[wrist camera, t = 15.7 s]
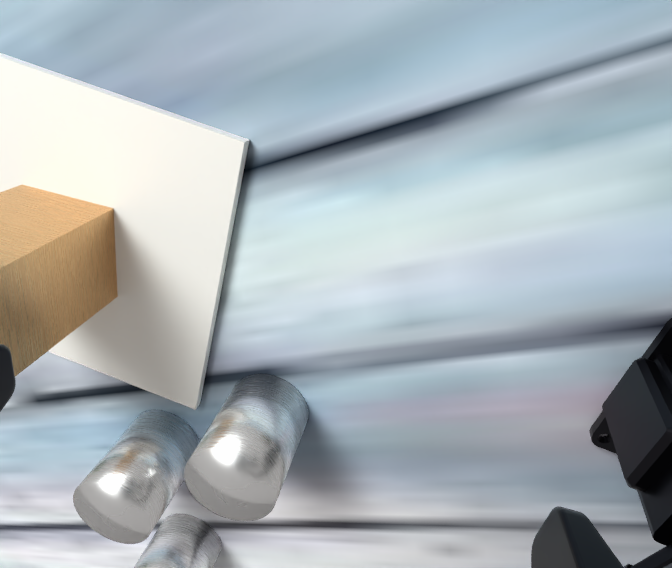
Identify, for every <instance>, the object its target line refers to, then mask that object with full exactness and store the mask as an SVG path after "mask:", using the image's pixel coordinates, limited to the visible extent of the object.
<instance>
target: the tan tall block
mask: <svg viewBox="0 0 672 568" xmlns="http://www.w3.org/2000/svg"><path fill="white" fill-rule="evenodd" d="M116 297H118V294H117V272H116V250H115V228H114V208H111V207H107V206H103V205H99V204H95V203H91V202H88V201H84V200H80V199H76V198H72V197H68V196H65V195H61V194H57V193H53V192H49V191H45V190H42V189H38V188H34V187H30V186H26V185H19V186H16V187H14V188H11V189H8V190H5V191H3V192H0V344H3V345H5V346H7V347H8V348H9V349H10V352H11V356H12V363H13V369H14V375H15V376H16V375H18V374H19V373H20V372H22V371H23V370H24V369H25V368H27V367H28V366H29V365H31V364H32V363H33V362H34V361H36V360H37V359H38V358H40V357H41V356H42V355H43V354H45V353H46V352H47V351H49V350H50V349H51V348H52V347H54V346H55V345H56V344H57V343H59V342H60V341H61V340H63V339H64V338H65V337H66V336H68V335H69V334H70V333H72V332H73V331H74V330H75V329H77V328H78V327H79V326H81V325H82V324H83V323H84V322H86V321H87V320H88V319H90V318H91V317H92V316H93V315H95V314H96V313H97V312H99V311H100V310H101V309H102V308H104V307H105V306H106V305H108V304H109V303H110V302H111V301H113V300H114V299H115V298H116Z"/></svg>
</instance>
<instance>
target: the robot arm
mask: <svg viewBox="0 0 672 568" xmlns="http://www.w3.org/2000/svg"><path fill="white" fill-rule="evenodd" d="M14 389H15V375H14V369H13V363H12V356H11V352H10V349H9V348H8V347H7V346H5V345H3V344H0V411H1V410H2V409H3V407H4V406H5V405H6V403H7V402H8V401H9V399H10V398H11V396H12V394H13V392H14ZM602 408H603V411H602V413H601V414H600V416H599V417H598V418H597V420H596V421H595V423H594V424H593V425H592V427H591V429H590V436H591V440H592V442H593V443H594V444H595V445H596V446H598V447H600V448H603V449H606V450H608V451H611V452H614V453H616V454H617V455H618V459H619V462H620V465H621V468H622V471H623V475H624V478H625V480H626V482H627V485H628V486H629V487H630V488H633V489H635V490H637V491H638V494H639V497H640V500H641V503H642V506H643V509H644V512H645V515H646V518H647V521H648V524H649V527H650V530H651V533H652V536H653V538H654V540H655V541H657V542H658V543H661V544H663V545H666V547H664V548H663V549H661V550H659V551H657V552H656V553H654V554H652V555H651V556H649V557H647V558H645V559H644V560H642V561H640V562H639V563H637V564H635V565H630V564H628V565H626V566H624V567H623V566H622V565H621V563H620V562H619V560H618V559H617V558H616V556H615V555H614V554H613V552H612V551H611V549H610V548H609V547H608V545H607V544H606V542H605V541H604V540H603V538H602V537H601V536H600V534H599V533H598V531H597V530H596V529H595V527H594V526H593V524H592V523H591V522H590V520H589V519H588V518H587V517H586V516H585V515H584V514H582V513H580V512H577V511H574V510H570V509H567V508H564V507H555V508H554V509H553V510H552V511H551V512H550V514H549V516H548V517H547V519H546V520H545V522H544V524H543V525H542V527H541V528H540V530H539V532H538V533H537V535H536V537H535V539H534V541H533V545H532V554H531V568H672V318H671V319H670V320H669V321H668V322H667V323H666V324H665V326H664V327H663V329H662V330H661V331H660V333H659V334H658V335H657V337H656V338H655V340H654V341H653V342H652V344H651V345H650V346H649V348H648V349H647V351H646V352H645V353H644V355H643V356H642V358H639V359H637V360H635V361H634V362H633V363H632V365H631V366H630V367H629V369H628V370H627V372H626V373H625V374H624V376H623V377H622V379H621V380H620V381H619V383H618V384H617V386H616V387H615V388H614V390H613V391H612V393H611V394H610V395H609V397H608V398H607V400H606V401H605V402H604V404H603V406H602ZM601 434H608V435H607V436H604V437H602V436H599V435H601Z"/></svg>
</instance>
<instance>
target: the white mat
mask: <svg viewBox="0 0 672 568" xmlns="http://www.w3.org/2000/svg"><path fill="white" fill-rule="evenodd" d="M248 145H249V139H246V138H243V137H241V136H238V135H235V134H232V133H229V132H226V131H223V130H220V129H218V128H215V127H212V126H209V125H206V124H203V123H200V122H197V121H195V120H192V119H189V118H186V117H183V116H180V115H177V114H174V113H172V112H169V111H166V110H163V109H160V108H157V107H154V106H152V105H149V104H146V103H143V102H140V101H137V100H134V99H131V98H129V97H126V96H123V95H120V94H117V93H114V92H111V91H108V90H106V89H103V88H100V87H97V86H94V85H91V84H88V83H86V82H83V81H80V80H77V79H74V78H71V77H68V76H65V75H63V74H60V73H57V72H54V71H51V70H48V69H45V68H42V67H40V66H37V65H34V64H31V63H28V62H25V61H22V60H20V59H17V58H14V57H11V56H8V55H5V54H2V53H0V192H3V191H5V190H8V189H11V188H14V187H16V186H19V185H26V186H30V187H34V188H38V189H42V190H45V191H49V192H53V193H57V194H61V195H65V196H68V197H72V198H76V199H80V200H84V201H88V202H91V203H95V204H99V205H103V206H107V207H111V208H114V228H115V250H116V272H117V294H118V297H116V298H115V299H114V300H113V301H111V302H110V303H109V304H108V305H106V306H105V307H104V308H102V309H101V310H100V311H99V312H97V313H96V314H95V315H93V316H92V317H91V318H90V319H88V320H87V321H86V322H84V323H83V324H82V325H81V326H79V327H78V328H77V329H75V330H74V331H73V332H72V333H70V334H69V335H68V336H66V337H65V338H64V339H63V340H61V341H60V342H59V343H57V344H56V345H55V346H54V347H52V348H51V349H50V350H49V351H48V352H50V353H53V354H55V355H58V356H61V357H63V358H66V359H68V360H71V361H73V362H76V363H78V364H81V365H83V366H86V367H88V368H91V369H93V370H96V371H98V372H101V373H103V374H106V375H109V376H111V377H114V378H116V379H119V380H121V381H124V382H126V383H129V384H131V385H134V386H136V387H139V388H141V389H144V390H146V391H149V392H151V393H154V394H157V395H159V396H162V397H164V398H167V399H169V400H172V401H174V402H177V403H179V404H182V405H184V406H187V407H189V408H192V409H194V410H196V409H197V407H198V406H199V404H200V401H201V396H202V391H203V385H204V380H205V375H206V369H207V364H208V359H209V353H210V348H211V343H212V337H213V332H214V327H215V321H216V316H217V311H218V305H219V300H220V295H221V289H222V284H223V279H224V273H225V268H226V263H227V257H228V252H229V247H230V241H231V236H232V231H233V225H234V220H235V215H236V209H237V204H238V199H239V193H240V188H241V183H242V177H243V172H244V167H245V161H246V156H247V151H248Z"/></svg>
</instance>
